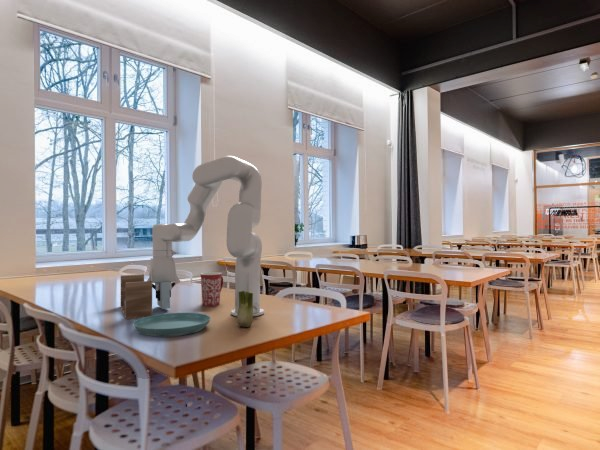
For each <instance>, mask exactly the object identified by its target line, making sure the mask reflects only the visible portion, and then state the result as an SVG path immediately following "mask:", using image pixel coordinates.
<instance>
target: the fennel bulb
mask: <svg viewBox="0 0 600 450" xmlns="http://www.w3.org/2000/svg"><path fill="white" fill-rule="evenodd" d="M236 317H237V318H236V321H237V323H236V324H237V325H238V326H240V327H242V328H249V327H251V326H252V323H253V318H254V316H253V293H249V292H245V291H239V308H238V315H237V316H236Z"/></svg>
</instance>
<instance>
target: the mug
mask: <svg viewBox="0 0 600 450" xmlns="http://www.w3.org/2000/svg"><path fill="white" fill-rule="evenodd" d="M222 274H223V273H222V272H218V271H217V272H216V271H214V272H213V271H210V272H209V271H207V272H201V273H200V281H201V282H200V286H201V287H200V288H201V300H202V301H201V302H202V303H201V304H202V306H205V307H215V306H220V305H221V304H220V303H221V301H220V300H221V292H222V289H223V287H224V277H223V275H222Z"/></svg>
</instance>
